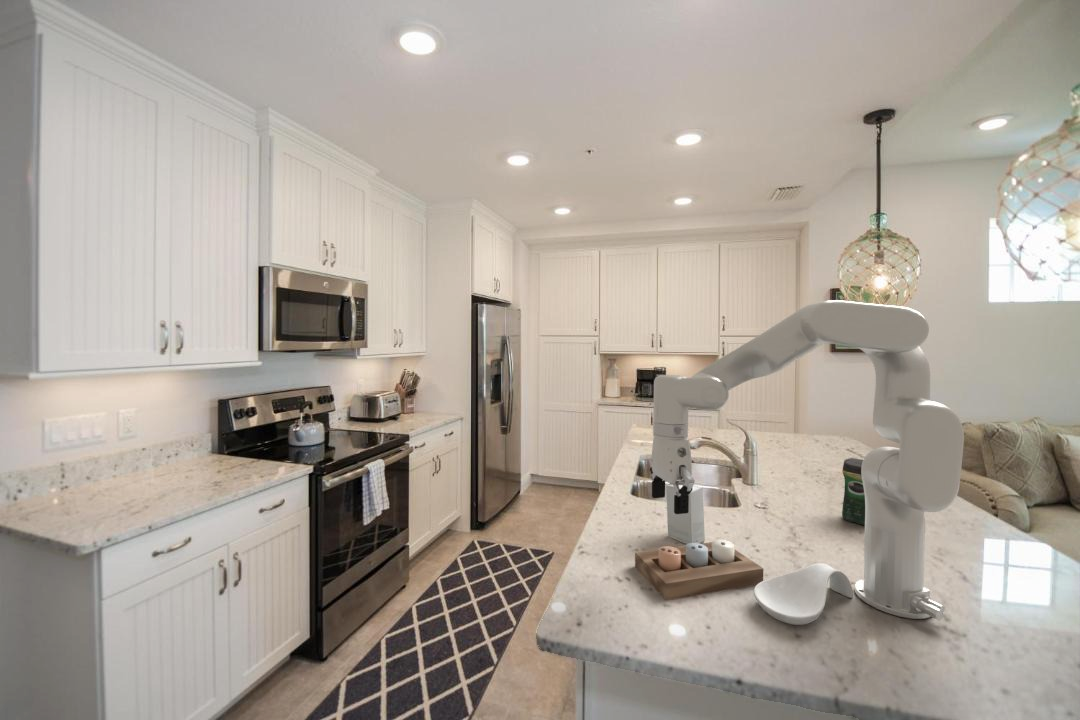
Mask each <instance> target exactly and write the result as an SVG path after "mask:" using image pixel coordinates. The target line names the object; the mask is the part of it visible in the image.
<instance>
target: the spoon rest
mask: <svg viewBox="0 0 1080 720" xmlns="http://www.w3.org/2000/svg"><path fill="white" fill-rule="evenodd" d="M828 585H829V588H830V589H831V590H832V591H835V592H836V593H838V594H841V595H842V596H844V597H846V598H848V599H849V598H853V597H854V590H853V586H852V583H851V581H850V579H849V577H848V576H847V575H846V574H845V573H844V572H843V571H842V570H840V569H835V568H833V567H832V566H830V565H829V564H826V563H822V562H821V563H814V564H810V565H809V566H806V567H803V568H799V569H797V570H794V571H791V572H788V573H784V574H781V575H778V576H773V577H771V578H768V579H763V581H762V582H760V583H758V584H757V585H754V589H753V596H754V598H755V600H756V602H757V604H759V606H760V607H761V608H762V610H763V611H765V612H766V613H767V614H768V615H770V616H771V617H772V618H774V619H776V620H777V621H780V622H782V623H785V624H789V625H792V626H793V625H795V626H803V625H808V624H809V623H812V622H814V621H815V620H817V619H818V618H819V617H820V616H821V614H822V612H823V611H824V608H825V604H826V598H827V592H828V590H827V589H828Z"/></svg>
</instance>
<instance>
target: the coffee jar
mask: <svg viewBox="0 0 1080 720" xmlns="http://www.w3.org/2000/svg"><path fill="white" fill-rule="evenodd" d="M863 460H864V459H860V458H854V457H849V458H846V459H844V462H843V464H842V465H843V466H842V474H843V477H844V490H843V491H844V492H843V501H842V508H841V509H842V511H841V516H842V518H843V519H844V520H846V521H848V522H852V523H854V522H855V524H859V525H861V524H862V526H865V494H864V487H863V481H862V474H861V467H862V462H863Z"/></svg>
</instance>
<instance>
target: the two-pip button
mask: <svg viewBox="0 0 1080 720" xmlns="http://www.w3.org/2000/svg"><path fill="white" fill-rule="evenodd" d="M685 545H686V563H687V564H689V565H690V566H691V567H692V568H698V567H704V566H708V548H707V547H706V546H705V545H702V544H699V543H688V544H685Z"/></svg>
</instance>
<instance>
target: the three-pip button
mask: <svg viewBox="0 0 1080 720" xmlns="http://www.w3.org/2000/svg"><path fill="white" fill-rule="evenodd" d="M674 547H675V546H669V545H665V546H661V547H659V548H658V549H659V567H660V568H661V569H662V570H663V571H664V572H671V571H677V570H681V552H680V550H678V549H677V548H674Z"/></svg>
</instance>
